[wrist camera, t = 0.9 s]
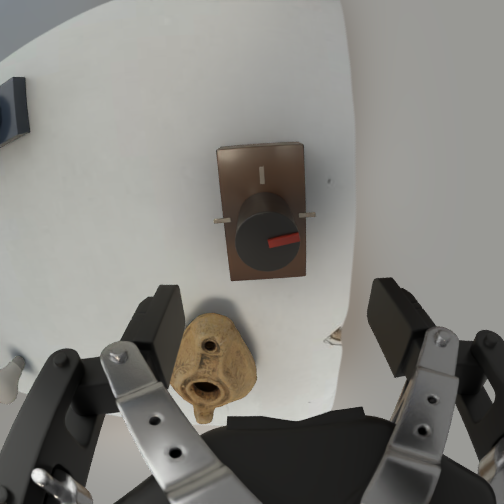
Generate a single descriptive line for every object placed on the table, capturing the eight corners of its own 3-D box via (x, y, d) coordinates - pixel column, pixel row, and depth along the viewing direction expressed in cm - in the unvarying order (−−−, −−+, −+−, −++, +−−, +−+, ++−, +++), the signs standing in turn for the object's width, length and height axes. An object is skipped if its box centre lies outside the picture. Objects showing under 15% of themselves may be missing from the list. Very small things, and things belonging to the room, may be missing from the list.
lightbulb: (30, 353, 38) (1, 396, 28) (37, 374, 40) (13, 416, 30) (7, 341, 37) (-23, 380, 27) (15, 362, 40) (-11, 401, 30)
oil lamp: (252, 294, 32) (252, 344, 24) (258, 384, 38) (259, 431, 31) (155, 297, 32) (133, 343, 25) (181, 383, 38) (171, 428, 31)
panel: (211, 147, 25) (205, 151, 22) (307, 141, 25) (313, 143, 22) (225, 267, 30) (222, 282, 27) (309, 261, 30) (314, 276, 27)
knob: (246, 246, 26) (244, 280, 21) (232, 199, 24) (226, 221, 19) (295, 235, 26) (306, 266, 20) (284, 186, 24) (293, 206, 19)
